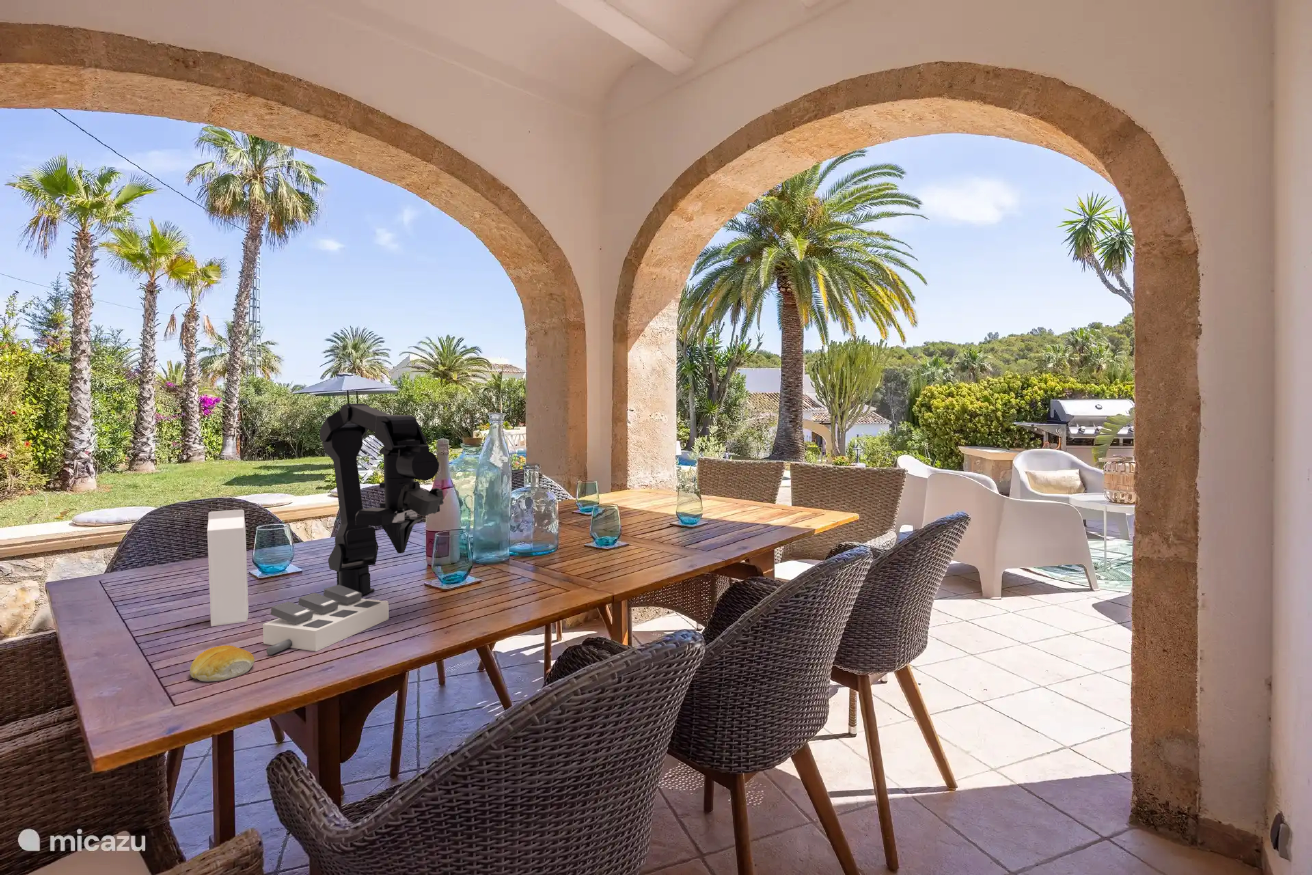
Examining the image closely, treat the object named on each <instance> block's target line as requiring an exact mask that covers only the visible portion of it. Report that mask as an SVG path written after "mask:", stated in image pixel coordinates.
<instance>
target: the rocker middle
mask: <svg viewBox="0 0 1312 875" xmlns="http://www.w3.org/2000/svg"><path fill="white" fill-rule="evenodd" d="M338 604H339V602H338V601H336V600H333V599H330V598H328V597H325V596H323V595H322V594H319V593H317V592H312V593H310V594H306V595H303V596H300V597H298V604H297V605H299V606H302V607H304V608H308V609H310V610H313V611H316V612H318V613H321V614H325V613H327V612H330V611H333V610H335V609H338Z"/></svg>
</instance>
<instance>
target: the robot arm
mask: <svg viewBox="0 0 1312 875" xmlns="http://www.w3.org/2000/svg"><path fill="white" fill-rule="evenodd" d="M369 431H370V432H373V433H374V438H375V439H376V440H378V442H380V443H381V444H382V445H383V447H382V448H380V450H379V454H380V455H383V482H379V489H383V490H384V492H383V493H384V495H383V496H384V501H383V502H380V503H379V507H368V508H364V507H363V506H364V504H363V498H362V490H361V483H360V482H361V481H360V474H359V466H358V455H359V454H360V452H361V450H362V448H363V444H364V443H363V441H364V440H363V438H364V437H365V435H366V434H367V432H369ZM319 438H320V440H321V442H322V446H323V450H324V452H325V453H326V454H327V456H329V458H330V459H331V460H332V461H333V467H334V468H333V469H334V476H335V478H334V479H335V484H336V491H337V500H338V507H339V508H338V510H339V517H340V526H339V528H338V530H337V532H336V534H335V536H334V547H333V549H332V551H331V553H330V554H329V557H328V559H327V561H328V566H329V567H328V568H329V569H330V570H332V571H335V572H336V585H341V586H344V587H347V588H349V589H352V590H355V591H358V592H360V593H362V596H364V595H368V594H370V593H372V592H375V588H371V573H370V567H371V566H376V564H377V558H378V552H379V544H378V541H377V536H376V529H375V527H381V528H382V529H383V530H384V532H385V533H386V535H387V536H388V538H389V540H390V541H391V544H392V545H393V546H392V547H394V549H395V551H396V552H397V554H404V553H405V551H406V548H407V545H408V542H409V539H410V535H411V533H412V531H413V529H414V526H415V525H416V524H417V523H419V521H421V520H423V517H425V516H428V515H430V514H431V515H432V514H433V515H435V514H437V513H439V512H441V509H440V508H441V506H442V505H443V504H444V501H443V500H444V492H443V489H441V488H438V487H435V488H431V489H430V490H423V489H421V483H420V481H428V480H431V479H433V478H434V477H435V476H436V475H437V473H438V472H439V468H440V463H439V460H438V458H437V456H436V455H435V454H434V453H433V452H431V451H430V445H429V444H428V443H427V441H428V440H427V438H426V437H425V434H424V433H423V430H422V428H421V426H420V424H419V422H418V421H417V418H416V417H415V416H414V415H411V414H410V415H409V414H408V415H407V414H390V413H387V412H384V411H382V410H378V409H376V408H374V407H371V406H369V405H368V404H365V403H346V404H343V405H342V406H341V407H340V409H339V410H337V411H336V412H334V413H333V414H332V415H329V416H328V417H326V418H325V420H324V421H323V423H322V424H321V427H320V429H319ZM418 480H419V481H418ZM418 515H420V516H418Z"/></svg>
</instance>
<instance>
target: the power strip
mask: <svg viewBox="0 0 1312 875" xmlns="http://www.w3.org/2000/svg"><path fill="white" fill-rule="evenodd" d="M307 609H308V608H307ZM309 610H310V609H309ZM312 611H313V610H312ZM389 613H390V612H389V601H387V600H378V599H377V600H376V599H370V598H369V599H368V598H362V597H361V600H359V601H356V602H354V603H351V604H348V605H346V604H344V603H341V602H339V604H338V609H335V610H333V611H330V612H327V613H325V614H321V613H318V612H316V611H313V617H312V619H309V620H306V621H304V622H301V623H299V624H293V623H291V622H288V621H286V620H283V619H281V618H278V617H277V618H275V619H274V620H270V621H267V622H265V623H263V624H262V634H263V635H262V636H263V637H262V638H263V644H264V645H270V646H268V647H266V650H265V651H266V654H267V655H268V656H273V655H274V654H277V653H279V652H282V651H284V650H286V649H298V650H303V651H311V652H318V651H321V650H322V649H326V648H328V647H329V646H332V645H334V644H336V643H339V642H341V641H342V640H345V639H348V638H349V637H352V636H354V635H356V634H359V633H361V632H363V631H365V630H368V629H370V628H372V627H375V626H376V625H379V624H381V623H384V622H385V621H389V618H390V617H389Z"/></svg>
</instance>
